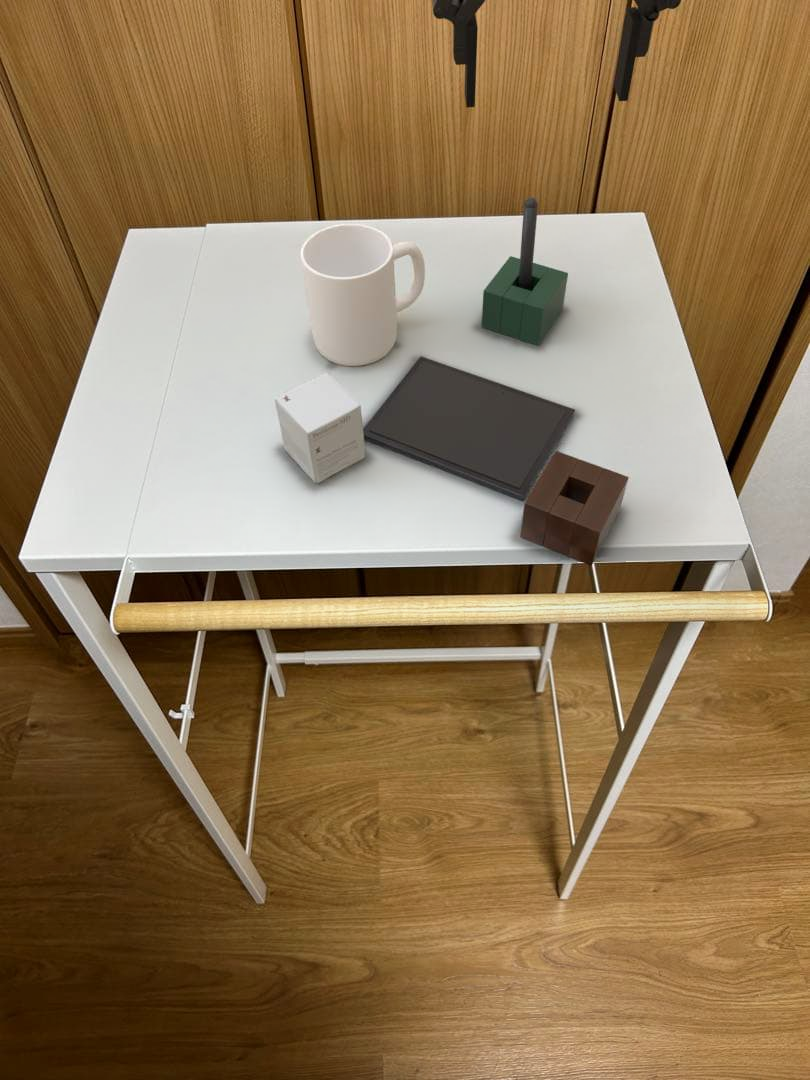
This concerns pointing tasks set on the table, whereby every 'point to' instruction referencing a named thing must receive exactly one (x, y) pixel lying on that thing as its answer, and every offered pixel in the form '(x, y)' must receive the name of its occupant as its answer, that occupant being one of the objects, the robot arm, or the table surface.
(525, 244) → the stylus
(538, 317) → the stand
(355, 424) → the product box
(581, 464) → the holder
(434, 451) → the tablet
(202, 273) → the table surface
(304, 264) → the cup
